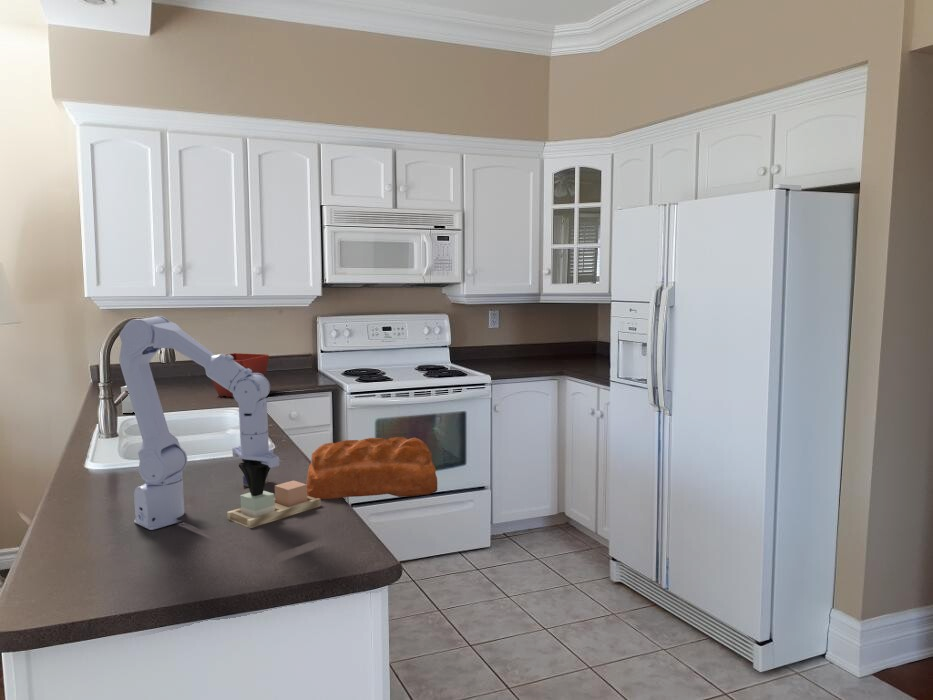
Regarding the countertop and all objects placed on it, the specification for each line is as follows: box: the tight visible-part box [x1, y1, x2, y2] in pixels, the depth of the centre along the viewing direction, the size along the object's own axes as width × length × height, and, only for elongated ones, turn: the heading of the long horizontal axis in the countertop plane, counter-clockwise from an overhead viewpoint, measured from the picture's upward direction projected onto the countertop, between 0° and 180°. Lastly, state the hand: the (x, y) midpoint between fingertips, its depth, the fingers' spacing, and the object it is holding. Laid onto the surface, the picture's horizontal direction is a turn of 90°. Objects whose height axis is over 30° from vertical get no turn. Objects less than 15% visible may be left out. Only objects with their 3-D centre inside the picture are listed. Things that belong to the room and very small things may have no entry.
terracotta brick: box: [274, 479, 308, 507], centre depth 162 cm, size 5×5×5 cm
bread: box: [305, 436, 438, 500], centre depth 176 cm, size 16×31×13 cm, turn 101°
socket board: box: [226, 496, 322, 529], centre depth 159 cm, size 18×9×3 cm, turn 139°
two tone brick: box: [239, 490, 275, 518], centre depth 155 cm, size 5×5×5 cm
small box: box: [120, 385, 134, 414], centre depth 278 cm, size 8×6×10 cm
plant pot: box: [211, 352, 270, 398], centre depth 313 cm, size 19×19×17 cm
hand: (257, 494), depth 155 cm, fingers closed
